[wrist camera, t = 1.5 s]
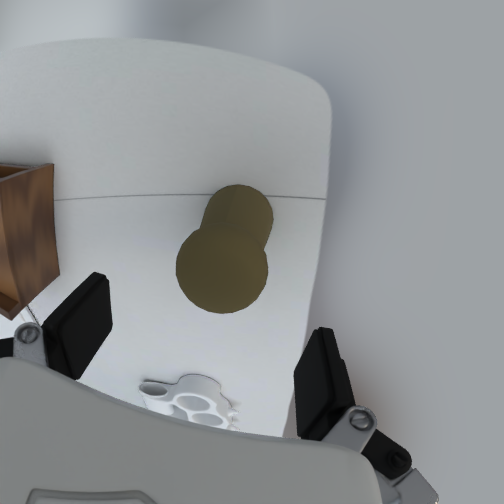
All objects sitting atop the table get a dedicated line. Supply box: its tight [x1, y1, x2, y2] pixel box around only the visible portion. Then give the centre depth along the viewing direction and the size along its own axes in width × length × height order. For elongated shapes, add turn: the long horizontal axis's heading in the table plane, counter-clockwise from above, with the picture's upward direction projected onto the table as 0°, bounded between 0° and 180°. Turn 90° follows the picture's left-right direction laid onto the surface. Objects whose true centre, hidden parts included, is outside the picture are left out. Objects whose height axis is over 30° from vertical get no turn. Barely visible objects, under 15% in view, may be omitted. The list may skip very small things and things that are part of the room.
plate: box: [0, 306, 37, 339], centre depth 34 cm, size 28×28×1 cm
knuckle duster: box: [138, 375, 240, 431], centre depth 35 cm, size 3×18×15 cm
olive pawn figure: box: [176, 185, 273, 314], centre depth 19 cm, size 6×6×11 cm
